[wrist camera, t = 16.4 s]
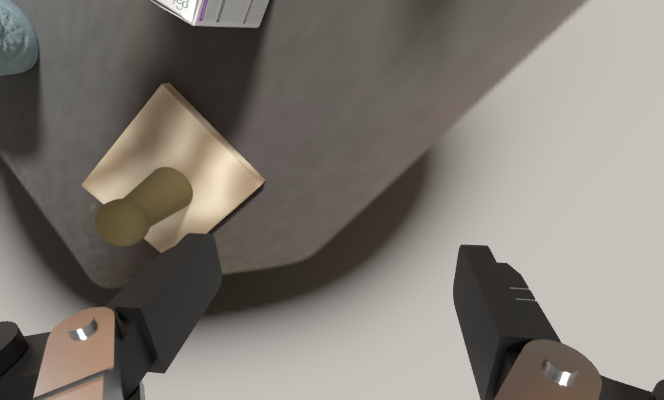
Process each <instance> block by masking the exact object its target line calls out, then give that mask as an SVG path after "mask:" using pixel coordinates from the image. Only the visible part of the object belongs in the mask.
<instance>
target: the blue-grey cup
mask: <svg viewBox="0 0 664 400" xmlns="http://www.w3.org/2000/svg"><path fill="white" fill-rule="evenodd" d="M38 53H39V46H38V40H37V36H36V33H35V30H34V28H33V26H32V24H31V23H30V21H29V19H28V18H27V16H26V15H25V14H24V13H23V12H22V10H21V9H20V8H19V7H18V6H17V5H16V4H14V3H13V2H11V1H10V0H0V76H3V75H10V74H18V73H23V72H26V71H27V70H29V69H31V68H32V67H33V66H34V65H35V63H36V61H37V59H38Z"/></svg>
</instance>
